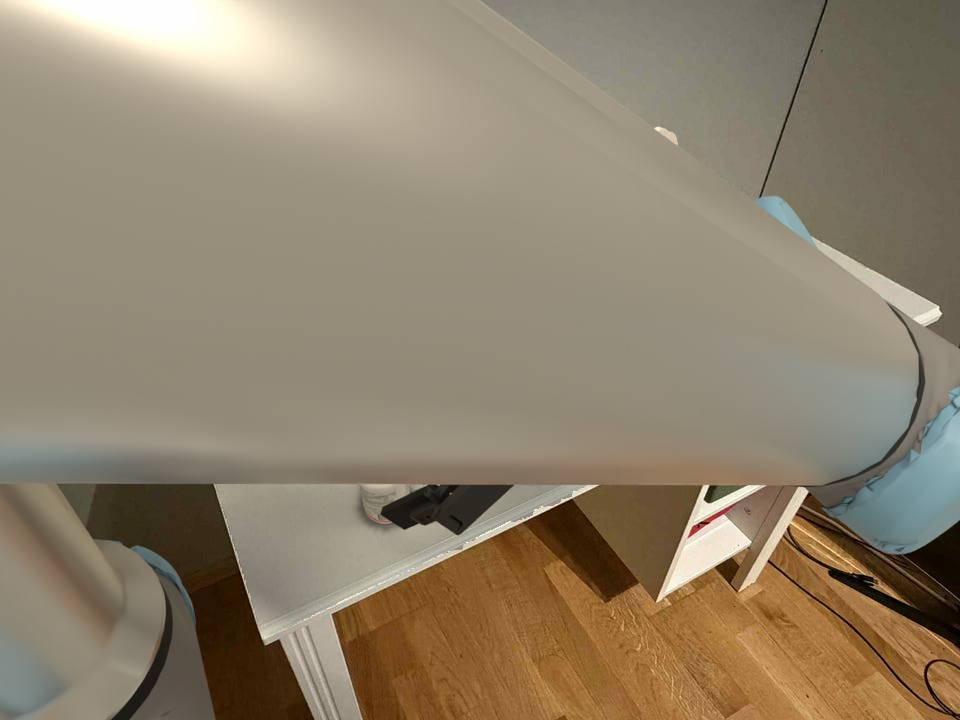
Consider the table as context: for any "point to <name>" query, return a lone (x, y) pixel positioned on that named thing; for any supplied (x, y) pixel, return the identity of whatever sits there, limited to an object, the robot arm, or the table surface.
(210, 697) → the robot arm
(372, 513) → the pill bottle
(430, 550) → the table surface
